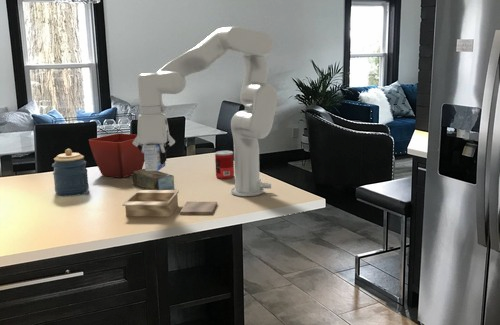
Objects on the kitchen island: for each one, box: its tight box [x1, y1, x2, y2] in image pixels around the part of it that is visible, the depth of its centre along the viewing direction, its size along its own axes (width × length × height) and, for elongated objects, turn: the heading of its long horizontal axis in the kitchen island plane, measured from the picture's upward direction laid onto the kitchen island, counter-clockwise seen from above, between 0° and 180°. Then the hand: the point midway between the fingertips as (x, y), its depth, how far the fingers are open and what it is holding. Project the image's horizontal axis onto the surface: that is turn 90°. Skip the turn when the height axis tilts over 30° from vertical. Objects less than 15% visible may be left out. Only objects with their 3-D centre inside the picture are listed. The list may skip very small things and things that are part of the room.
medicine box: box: [144, 144, 166, 171], centre depth 184 cm, size 8×4×9 cm, turn 168°
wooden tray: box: [122, 189, 180, 217], centre depth 188 cm, size 15×18×5 cm
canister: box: [51, 148, 90, 197], centre depth 213 cm, size 13×13×18 cm
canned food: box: [214, 150, 235, 180], centre depth 233 cm, size 8×8×11 cm
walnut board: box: [179, 201, 218, 216], centre depth 189 cm, size 11×12×1 cm
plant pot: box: [88, 132, 145, 179], centre depth 243 cm, size 19×19×17 cm
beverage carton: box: [132, 168, 175, 190], centre depth 220 cm, size 8×19×7 cm, turn 44°
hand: (155, 163), depth 185 cm, fingers closed on medicine box, 4 cm apart
